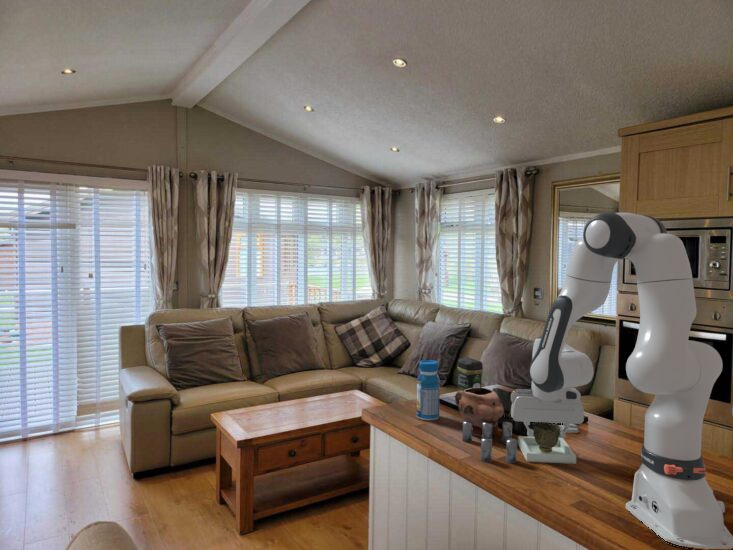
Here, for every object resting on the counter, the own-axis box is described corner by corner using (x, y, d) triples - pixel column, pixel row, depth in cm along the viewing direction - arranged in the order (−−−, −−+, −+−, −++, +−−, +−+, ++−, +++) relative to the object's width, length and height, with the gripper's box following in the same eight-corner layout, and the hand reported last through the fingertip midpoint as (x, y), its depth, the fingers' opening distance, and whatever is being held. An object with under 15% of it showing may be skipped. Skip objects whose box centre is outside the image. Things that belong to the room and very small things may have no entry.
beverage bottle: (429, 422, 173) (430, 365, 172) (411, 416, 179) (411, 361, 178) (444, 417, 179) (445, 362, 178) (426, 411, 185) (427, 358, 184)
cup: (560, 457, 143) (562, 430, 143) (533, 454, 145) (535, 427, 144) (556, 447, 150) (558, 421, 150) (531, 444, 152) (532, 419, 152)
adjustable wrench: (503, 418, 180) (503, 414, 180) (510, 414, 185) (511, 410, 185) (575, 435, 164) (575, 429, 164) (581, 430, 169) (581, 425, 168)
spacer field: (521, 463, 140) (522, 442, 140) (467, 460, 142) (467, 440, 141) (510, 441, 157) (511, 422, 157) (462, 438, 159) (462, 420, 158)
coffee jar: (453, 404, 195) (454, 356, 194) (469, 401, 198) (470, 355, 197) (468, 411, 186) (469, 361, 185) (485, 408, 190) (486, 360, 189)
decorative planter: (441, 427, 169) (442, 386, 168) (464, 419, 177) (465, 380, 176) (491, 444, 154) (492, 400, 153) (514, 435, 162) (515, 393, 161)
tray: (576, 464, 140) (576, 455, 140) (526, 461, 142) (527, 453, 142) (562, 445, 154) (562, 438, 153) (517, 443, 155) (517, 435, 155)
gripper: (512, 391, 145) (511, 438, 145) (586, 394, 142) (585, 442, 143) (508, 385, 151) (508, 431, 152) (579, 388, 149) (578, 434, 149)
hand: (546, 436), depth 147 cm, fingers open, 8 cm apart
